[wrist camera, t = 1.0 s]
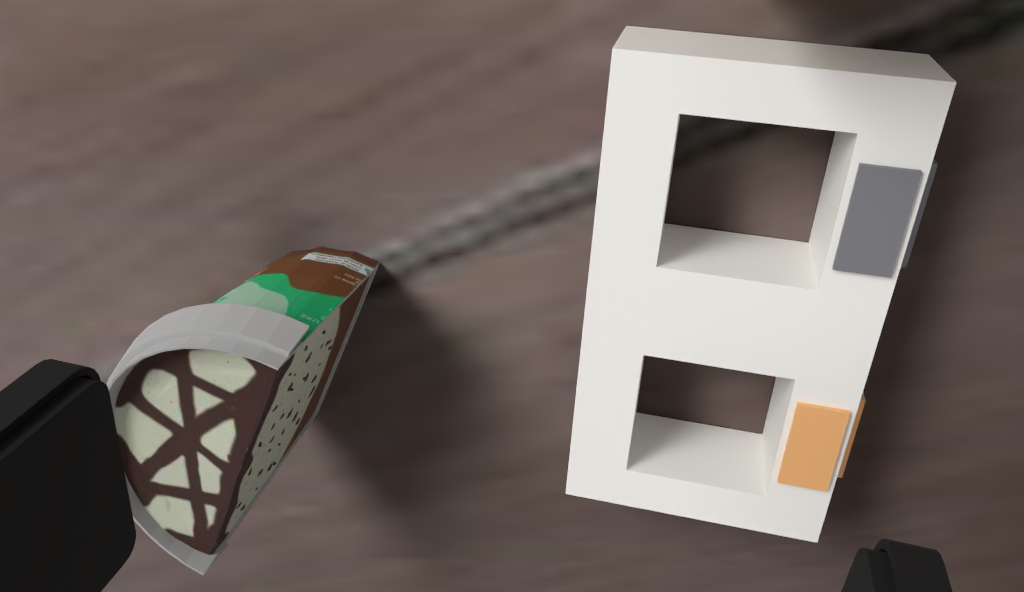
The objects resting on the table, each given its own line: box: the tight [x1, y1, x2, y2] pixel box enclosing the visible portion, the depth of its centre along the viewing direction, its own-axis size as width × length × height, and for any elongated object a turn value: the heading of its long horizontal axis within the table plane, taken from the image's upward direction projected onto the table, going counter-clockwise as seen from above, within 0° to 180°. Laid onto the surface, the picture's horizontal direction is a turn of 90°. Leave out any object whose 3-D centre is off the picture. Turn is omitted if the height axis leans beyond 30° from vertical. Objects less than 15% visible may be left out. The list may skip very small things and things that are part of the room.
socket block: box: [566, 26, 957, 543], centre depth 31 cm, size 18×10×4 cm, turn 177°
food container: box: [107, 247, 380, 575], centre depth 34 cm, size 12×6×10 cm, turn 155°
